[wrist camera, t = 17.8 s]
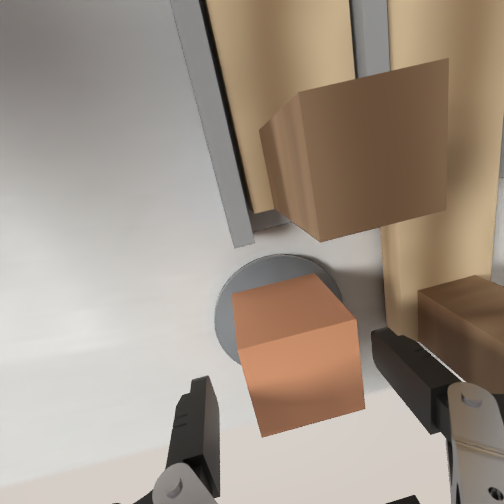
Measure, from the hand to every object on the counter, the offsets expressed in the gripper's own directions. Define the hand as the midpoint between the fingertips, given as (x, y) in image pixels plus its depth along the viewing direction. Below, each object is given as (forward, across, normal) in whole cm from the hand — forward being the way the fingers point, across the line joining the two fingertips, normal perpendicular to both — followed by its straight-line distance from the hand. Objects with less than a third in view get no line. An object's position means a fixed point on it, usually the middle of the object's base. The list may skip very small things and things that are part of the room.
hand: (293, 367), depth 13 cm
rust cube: (+4, 0, 0) cm, 4 cm away
